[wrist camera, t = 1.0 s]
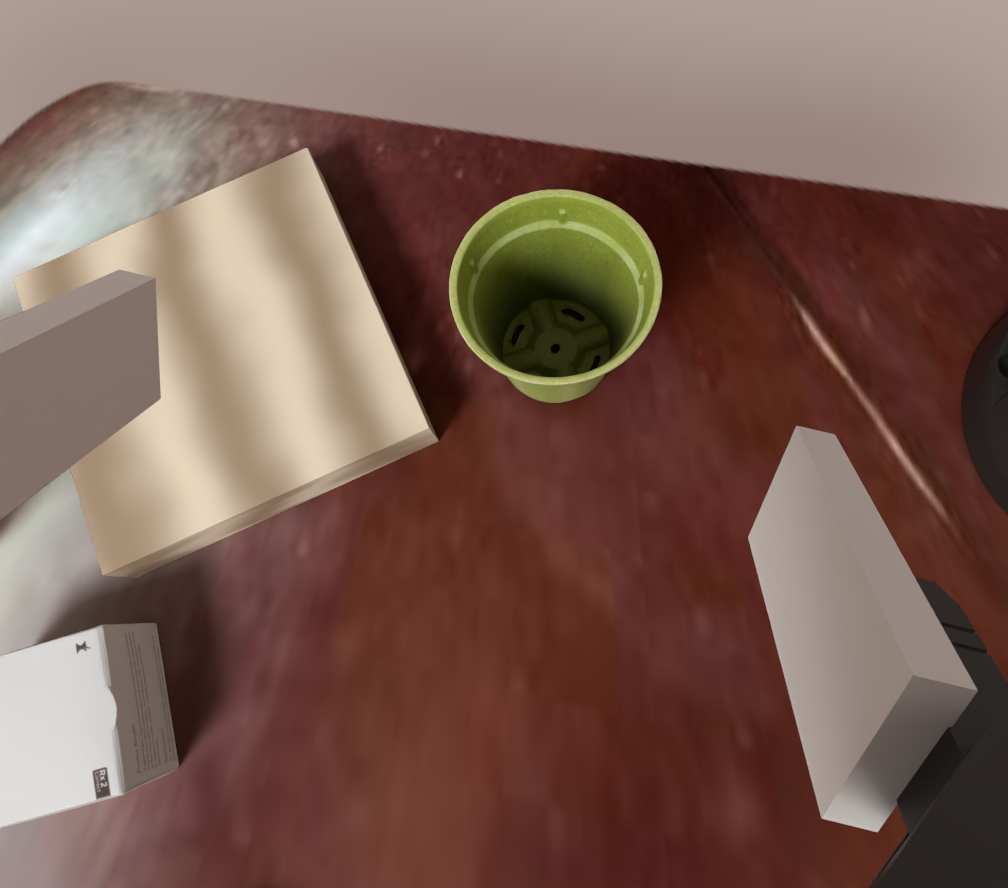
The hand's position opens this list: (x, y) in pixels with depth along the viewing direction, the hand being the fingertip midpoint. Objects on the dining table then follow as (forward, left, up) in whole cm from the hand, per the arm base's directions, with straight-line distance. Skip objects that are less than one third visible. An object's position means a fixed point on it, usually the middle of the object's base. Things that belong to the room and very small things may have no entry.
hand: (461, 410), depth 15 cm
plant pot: (-6, -9, -25) cm, 27 cm away
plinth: (+11, -16, -25) cm, 31 cm away
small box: (+24, -1, -25) cm, 35 cm away
